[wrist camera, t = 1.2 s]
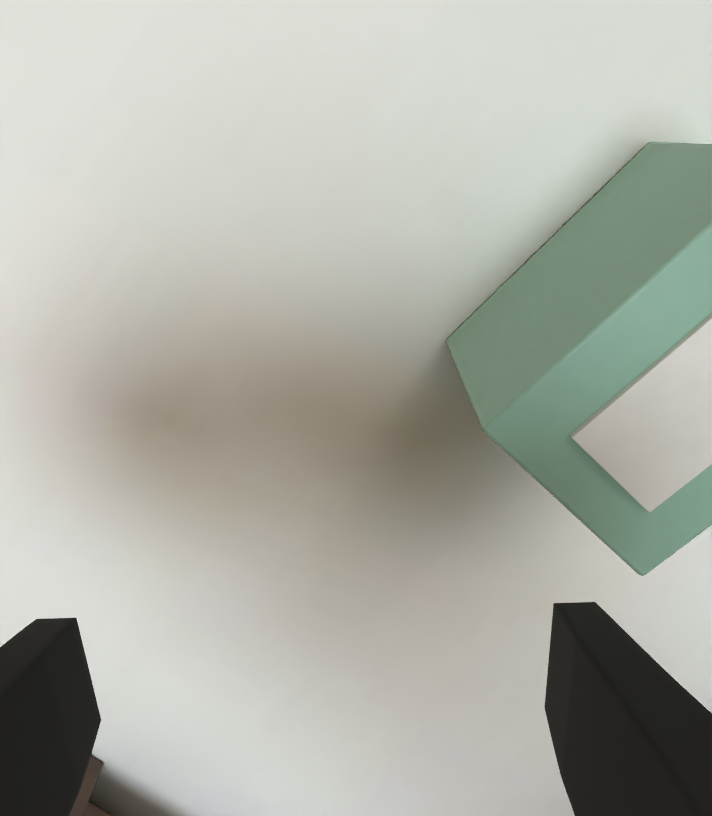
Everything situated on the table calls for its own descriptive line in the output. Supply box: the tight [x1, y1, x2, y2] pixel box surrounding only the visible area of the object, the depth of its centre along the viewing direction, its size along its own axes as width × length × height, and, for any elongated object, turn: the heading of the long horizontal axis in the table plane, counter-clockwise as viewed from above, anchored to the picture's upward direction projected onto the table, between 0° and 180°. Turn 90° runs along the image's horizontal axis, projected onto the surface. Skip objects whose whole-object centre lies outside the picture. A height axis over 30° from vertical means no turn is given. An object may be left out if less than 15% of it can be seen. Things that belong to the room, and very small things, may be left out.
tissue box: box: [446, 142, 712, 576], centre depth 15 cm, size 5×7×6 cm
